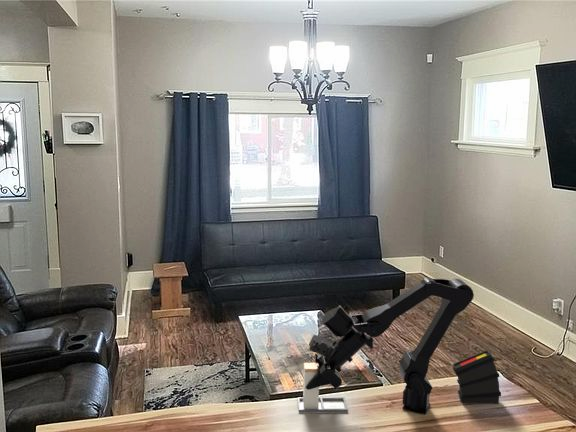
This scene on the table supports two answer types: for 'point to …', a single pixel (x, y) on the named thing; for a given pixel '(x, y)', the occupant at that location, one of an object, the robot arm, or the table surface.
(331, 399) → the organiser
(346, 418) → the table surface
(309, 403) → the block
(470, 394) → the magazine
